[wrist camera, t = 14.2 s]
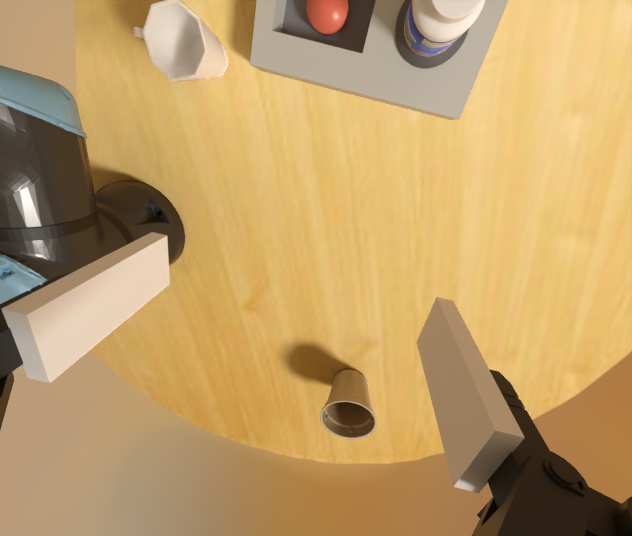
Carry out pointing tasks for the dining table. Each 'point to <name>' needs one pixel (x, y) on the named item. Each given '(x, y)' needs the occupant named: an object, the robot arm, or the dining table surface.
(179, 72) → the cup
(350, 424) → the flower pot
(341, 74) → the grey recessed tray
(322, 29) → the breaker button
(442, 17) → the pill bottle
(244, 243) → the dining table surface
